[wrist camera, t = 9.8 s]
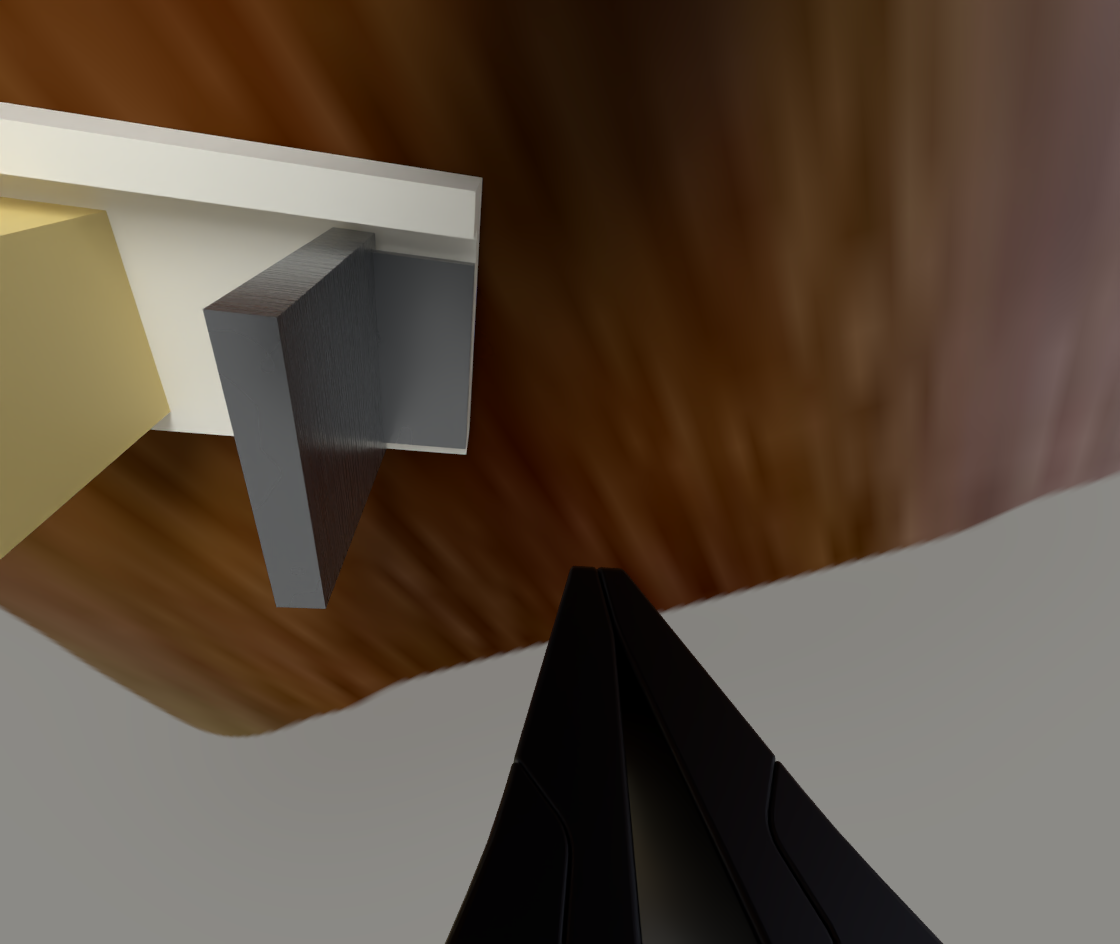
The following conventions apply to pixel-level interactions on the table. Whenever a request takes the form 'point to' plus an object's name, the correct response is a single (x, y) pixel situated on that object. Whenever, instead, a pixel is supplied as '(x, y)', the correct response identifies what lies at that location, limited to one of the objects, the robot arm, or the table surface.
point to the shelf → (223, 224)
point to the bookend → (337, 389)
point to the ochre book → (65, 360)
